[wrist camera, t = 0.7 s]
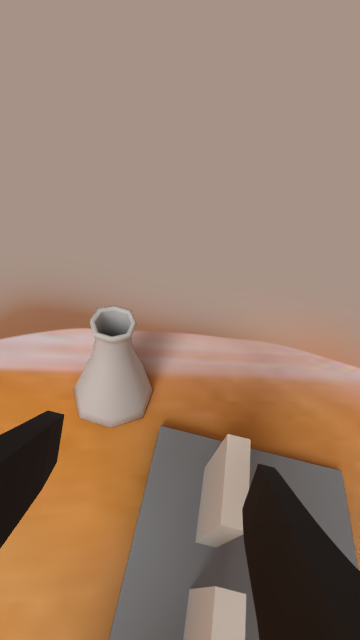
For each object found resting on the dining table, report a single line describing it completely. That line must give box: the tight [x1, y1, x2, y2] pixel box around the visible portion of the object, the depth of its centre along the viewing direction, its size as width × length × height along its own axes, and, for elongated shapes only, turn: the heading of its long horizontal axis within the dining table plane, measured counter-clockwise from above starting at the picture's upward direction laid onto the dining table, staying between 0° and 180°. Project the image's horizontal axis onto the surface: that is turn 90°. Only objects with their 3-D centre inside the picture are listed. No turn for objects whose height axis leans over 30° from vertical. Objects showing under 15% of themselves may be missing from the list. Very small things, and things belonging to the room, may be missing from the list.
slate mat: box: [109, 426, 358, 640], centre depth 21 cm, size 17×16×1 cm
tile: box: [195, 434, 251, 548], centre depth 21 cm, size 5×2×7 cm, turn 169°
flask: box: [74, 306, 153, 428], centre depth 25 cm, size 7×7×10 cm
